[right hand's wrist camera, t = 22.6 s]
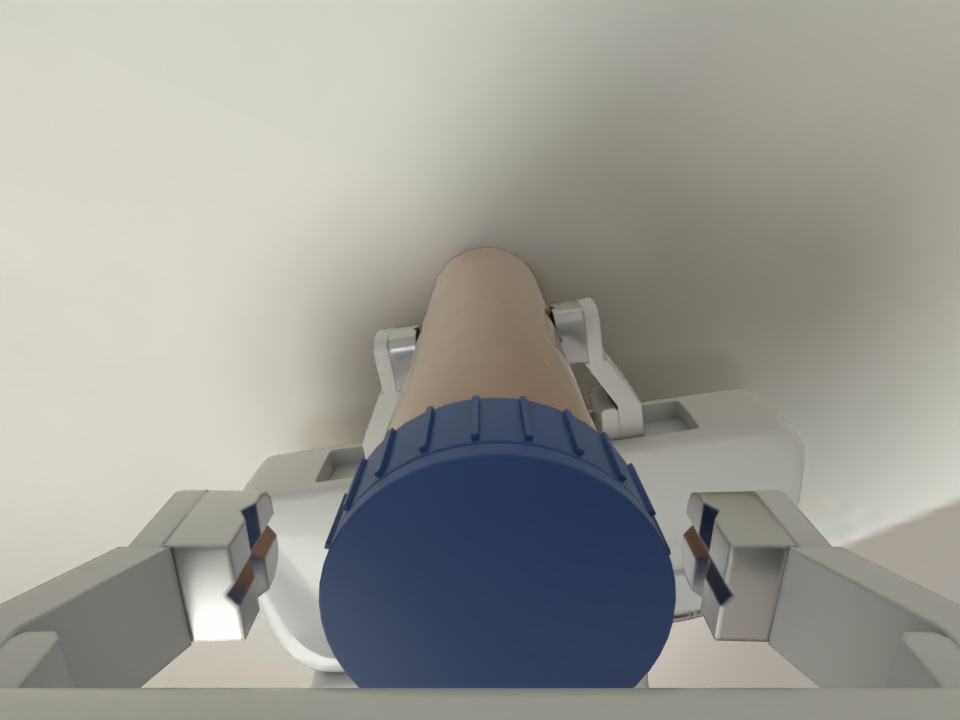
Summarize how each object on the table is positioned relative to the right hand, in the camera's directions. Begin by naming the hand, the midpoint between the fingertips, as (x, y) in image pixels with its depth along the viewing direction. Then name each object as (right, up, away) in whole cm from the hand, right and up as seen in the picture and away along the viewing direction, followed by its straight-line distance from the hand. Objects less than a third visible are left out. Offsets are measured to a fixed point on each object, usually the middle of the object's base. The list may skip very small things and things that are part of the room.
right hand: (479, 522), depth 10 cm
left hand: (0, +4, +9) cm, 10 cm away
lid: (0, -1, -2) cm, 2 cm away
